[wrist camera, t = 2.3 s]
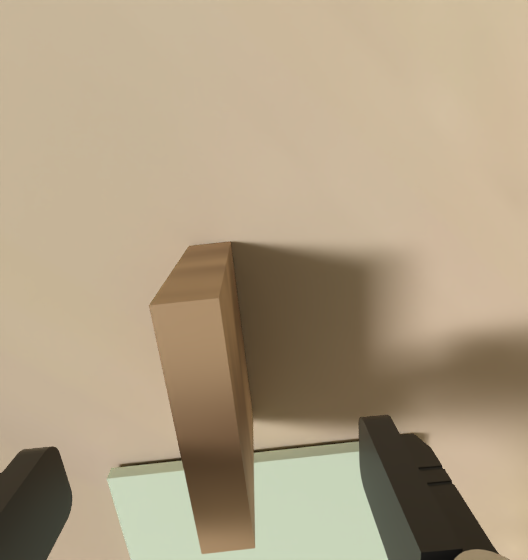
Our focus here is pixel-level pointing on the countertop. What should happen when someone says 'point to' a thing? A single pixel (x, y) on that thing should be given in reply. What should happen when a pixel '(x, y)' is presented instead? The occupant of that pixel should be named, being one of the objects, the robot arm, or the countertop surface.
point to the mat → (256, 509)
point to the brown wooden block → (209, 393)
